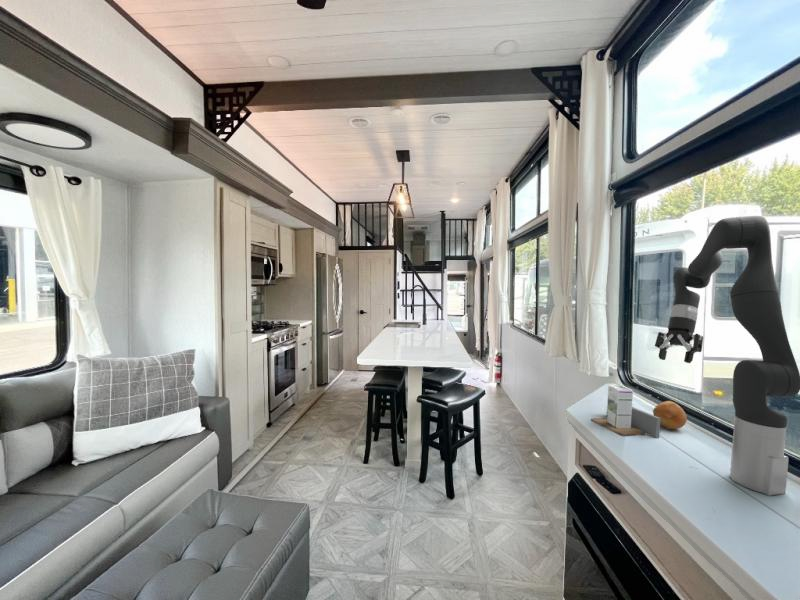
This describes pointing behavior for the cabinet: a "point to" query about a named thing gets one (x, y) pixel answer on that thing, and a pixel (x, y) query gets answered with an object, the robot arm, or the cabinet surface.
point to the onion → (670, 415)
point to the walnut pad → (620, 431)
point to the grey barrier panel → (645, 422)
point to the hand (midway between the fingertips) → (674, 360)
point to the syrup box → (619, 406)
